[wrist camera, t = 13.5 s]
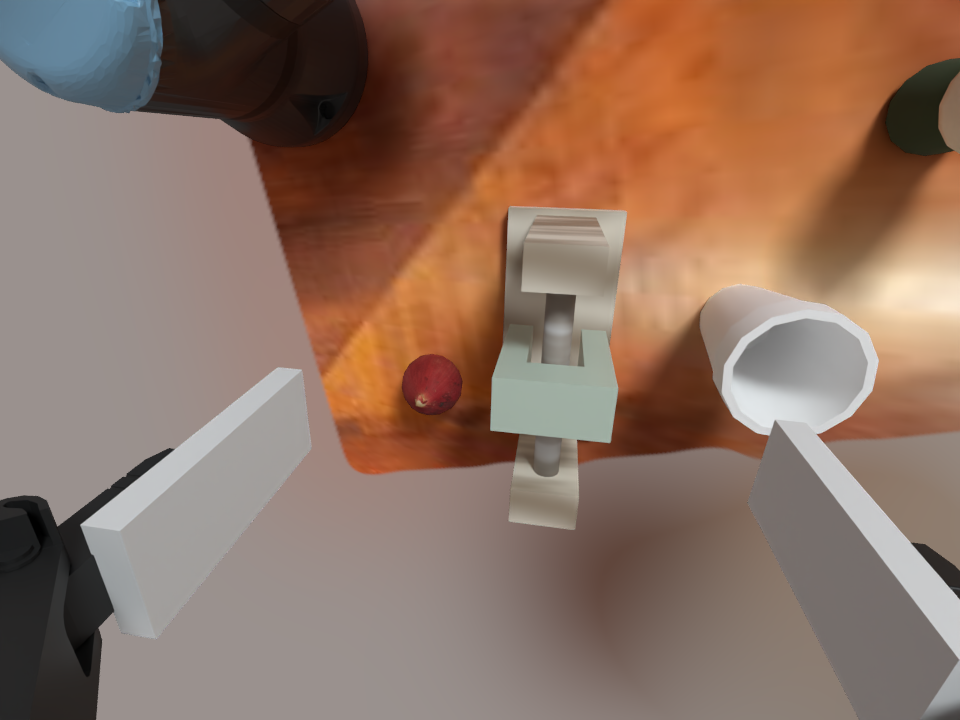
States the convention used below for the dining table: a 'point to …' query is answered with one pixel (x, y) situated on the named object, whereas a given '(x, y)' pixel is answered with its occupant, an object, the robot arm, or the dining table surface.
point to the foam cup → (785, 358)
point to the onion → (431, 384)
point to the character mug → (927, 111)
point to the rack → (557, 332)
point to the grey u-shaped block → (554, 390)
